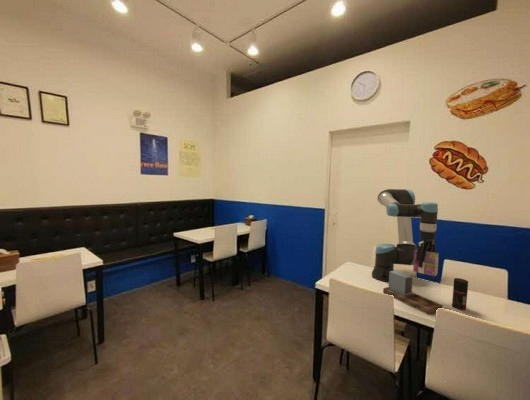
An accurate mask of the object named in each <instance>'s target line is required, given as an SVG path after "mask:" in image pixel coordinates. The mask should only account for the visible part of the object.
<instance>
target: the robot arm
mask: <svg viewBox="0 0 530 400" xmlns="http://www.w3.org/2000/svg"><path fill="white" fill-rule="evenodd" d="M377 201H378V203H379V204H380V205H381V206H384V207H385V209H386V210H385V211H386V215H387V216H389V217H396V220H397V221H396V223H397V236H398V243H396V244H392V243H380V244H378V245H376V247H375V254H374V255H375V259H374V267H373V269H372V271H371V277H372V278H373V279H375V280H378V281H380V282H385V283H386V282H387V283H389V272H390V271H395V268H394V266H395V265H402V266H414V251H415V250H417V255H416V260H417V261H419V266H418V272H419V273H418V272H417V273H418V274H422V275H425V274H424V266H425V262H424V258H425V255H426V251H429V252H434V253H437V251H436V250H437V240H436V239H437V232H436V231H437V228H438V224H437V223H438V212H439V208H438V206H439V204H438V203H437V202H427V201H425V202H422V203H416V196H415V193H414V191H413V190H411V189H406V188H405V189H404V188H403V189H401V188H400V189H399V188H397V189H395V188H394V189H393V188H392V189H391V188H389V189H384V190H382V191H380V192H379V193H378V196H377ZM412 218H420V221H419V235H418V236H419V238H421V239H420V241H419V242H416V243H417V244H415V243H414V237H413V227H412V225H413V224H412ZM395 245H396V246H395Z"/></svg>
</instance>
